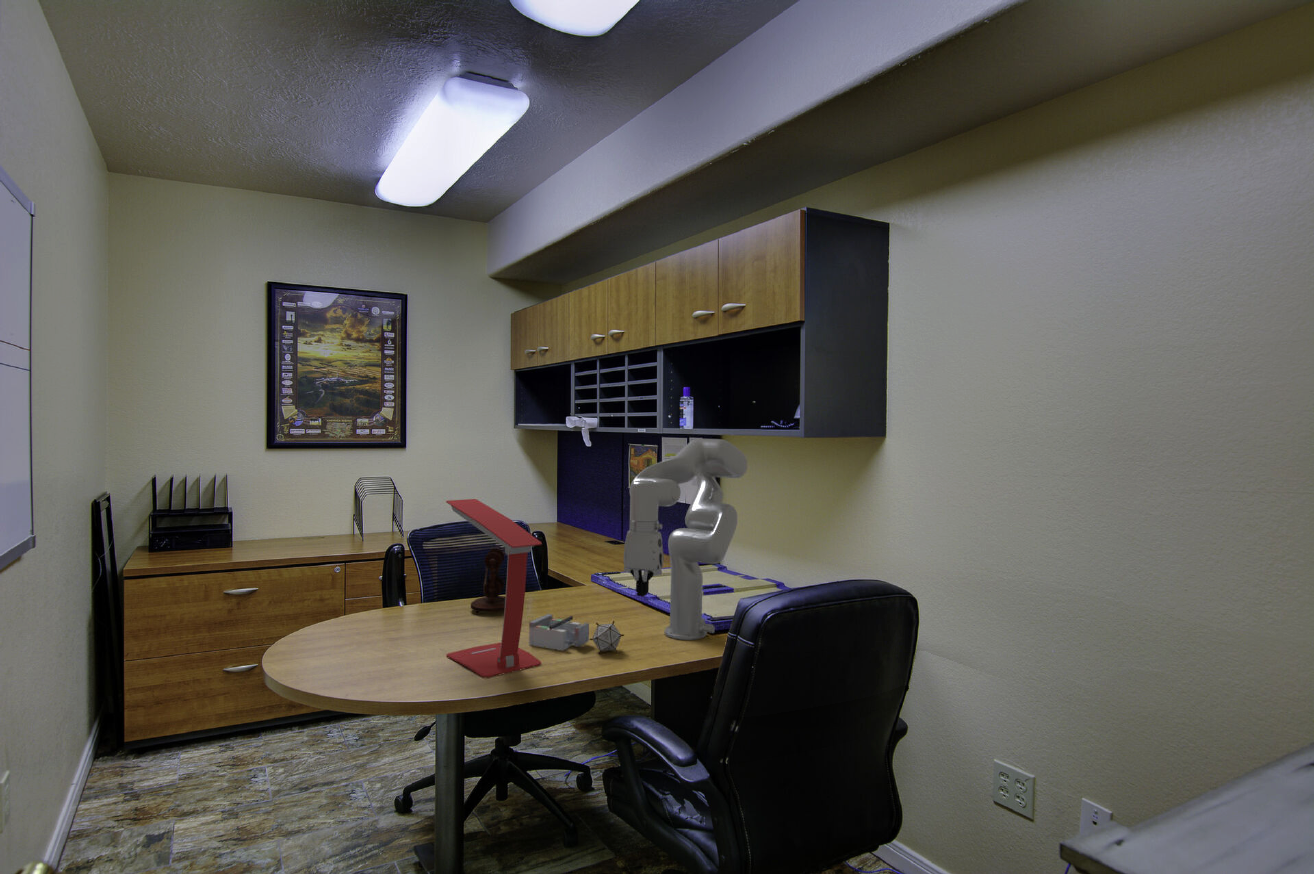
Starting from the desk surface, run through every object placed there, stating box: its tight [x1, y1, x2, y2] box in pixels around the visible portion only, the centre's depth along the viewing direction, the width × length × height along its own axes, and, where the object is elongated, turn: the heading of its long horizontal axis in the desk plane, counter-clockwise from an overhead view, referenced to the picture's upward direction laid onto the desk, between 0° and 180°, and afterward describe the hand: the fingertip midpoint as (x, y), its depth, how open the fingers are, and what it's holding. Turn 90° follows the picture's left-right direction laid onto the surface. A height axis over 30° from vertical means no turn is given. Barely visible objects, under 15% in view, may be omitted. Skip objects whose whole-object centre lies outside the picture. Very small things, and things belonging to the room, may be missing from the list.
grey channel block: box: [549, 615, 590, 648], centre depth 198 cm, size 8×12×5 cm
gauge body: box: [528, 613, 582, 651], centre depth 200 cm, size 11×10×6 cm
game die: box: [589, 620, 625, 655], centre depth 194 cm, size 9×8×10 cm
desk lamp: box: [445, 498, 543, 678], centre depth 187 cm, size 18×38×40 cm, turn 40°
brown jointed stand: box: [470, 547, 506, 615], centre depth 233 cm, size 15×15×20 cm
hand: (642, 595), depth 189 cm, fingers closed
